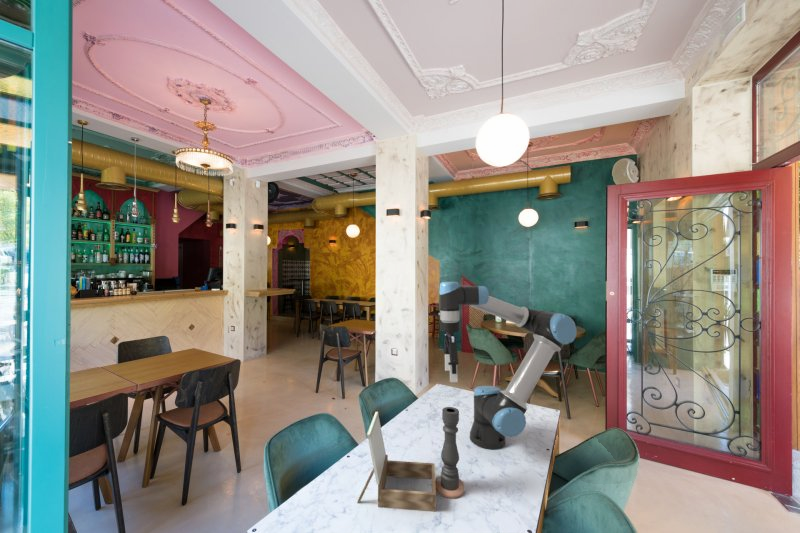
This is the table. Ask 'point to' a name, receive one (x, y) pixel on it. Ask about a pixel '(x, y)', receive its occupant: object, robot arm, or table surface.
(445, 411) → the candle holder
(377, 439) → the frame lid
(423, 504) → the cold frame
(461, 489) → the saucer
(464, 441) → the table surface
